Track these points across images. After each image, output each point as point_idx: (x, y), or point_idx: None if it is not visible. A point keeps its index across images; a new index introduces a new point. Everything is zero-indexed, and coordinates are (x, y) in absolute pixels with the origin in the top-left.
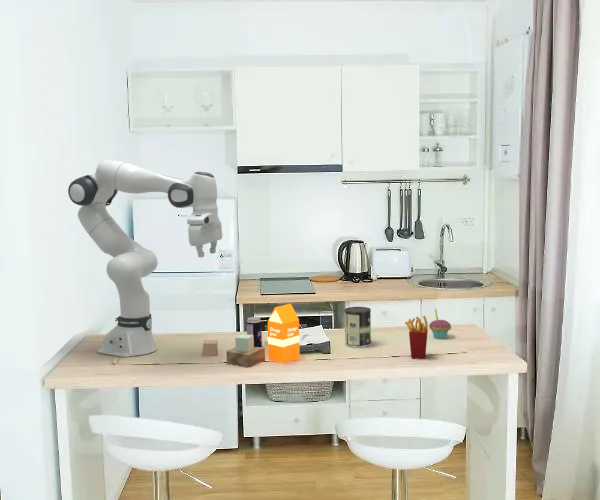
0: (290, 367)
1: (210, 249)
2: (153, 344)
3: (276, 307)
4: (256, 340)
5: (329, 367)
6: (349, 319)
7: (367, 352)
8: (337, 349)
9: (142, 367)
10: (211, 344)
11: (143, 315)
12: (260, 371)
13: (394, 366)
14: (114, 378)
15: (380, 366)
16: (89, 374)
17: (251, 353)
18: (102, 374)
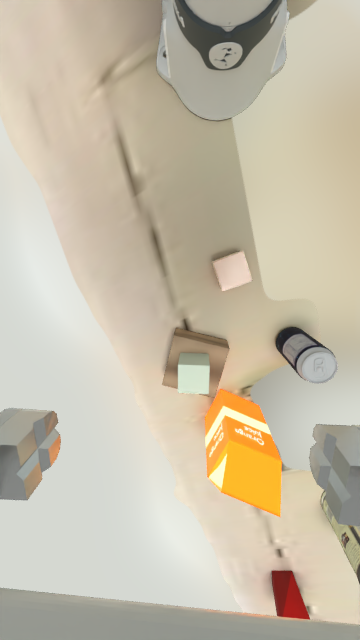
0: (184, 433)
1: (340, 468)
2: (229, 105)
3: (227, 494)
4: (283, 356)
5: (200, 483)
6: (354, 547)
7: (294, 518)
8: (306, 476)
9: (104, 168)
10: (219, 280)
11: (205, 15)
12: (150, 397)
13: (226, 555)
14: (22, 153)
15: (222, 541)
16: (21, 72)
17: (172, 386)
18: (32, 106)
